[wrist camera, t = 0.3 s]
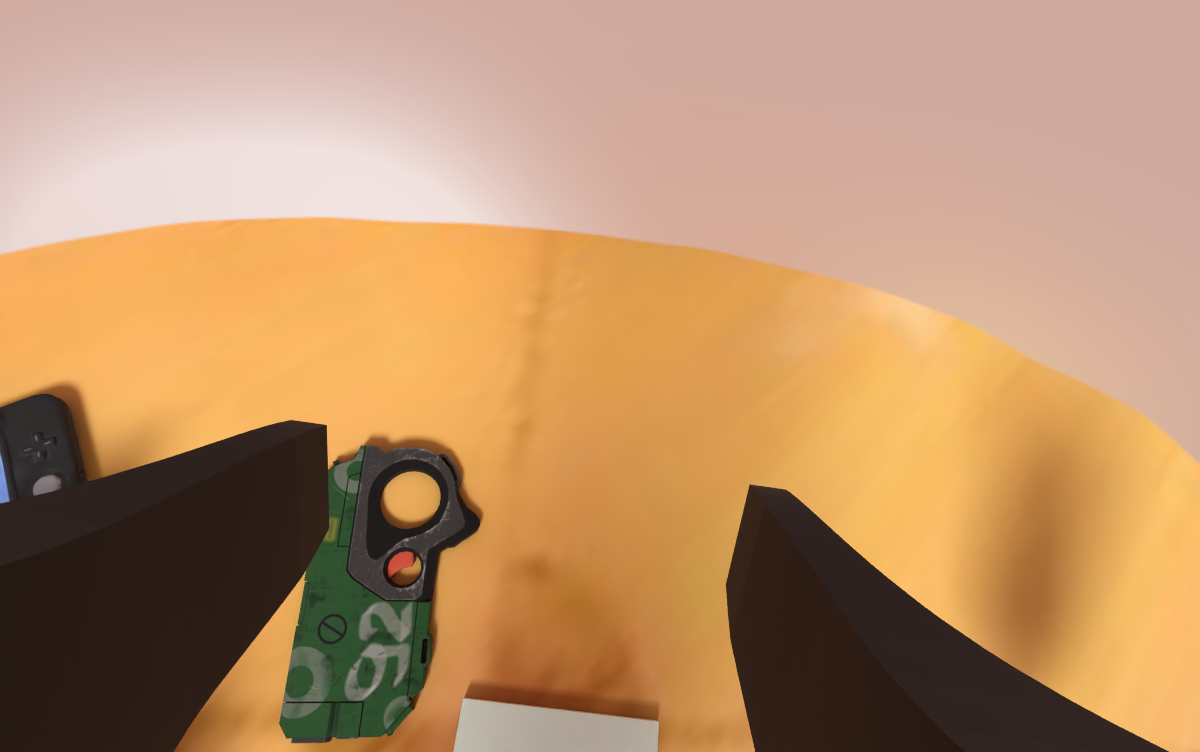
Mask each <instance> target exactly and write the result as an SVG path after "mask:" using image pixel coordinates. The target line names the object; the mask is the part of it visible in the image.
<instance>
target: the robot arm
mask: <svg viewBox="0 0 1200 752" xmlns="http://www.w3.org/2000/svg"><path fill="white" fill-rule="evenodd" d="M329 528H330V526H329V491H328V456H327V425H322V424H315V423H308V422H301V421H294V420H289V421H284V422H279V423H275V424H272V425H268V426H264V427H261V428H258V429H254V430H251V431H248V432H245V433H242V434H239V435H236V436H233V437H230V438H227V439H224V440H221V441H218V442H215V443H212V444H209V445H206V446H203V447H200V448H197V449H194V450H191V451H188V452H185V453H182V454H179V455H176V456H173V457H169V458H166V459H163V460H160V461H156V462H153V463H150V464H147V465H143V466H140V467H137V468H133V469H130V470H127V471H123V472H120V473H117V474H113V475H110V476H107V477H104V478H100V479H97V480H93V481H90V482H86V483H82V484H79V485H75V486H71V487H67V488H63V489H60V490H56V491H52V492H48V493H43V494H39V495H35V496H30V497H26V498H22V499H17V500H13V501H9V502H4V503H0V752H174V750H175V748H176V747H177V745H178V744H179V742H180V740H181V739H182V737H183V736H184V734H185V733H186V731H187V729H188V728H189V726H190V725H191V723H192V722H193V720H194V719H195V717H196V716H197V714H198V713H199V712H200V710H201V709H202V707H203V706H204V705H205V703H206V702H207V700H208V699H209V698H210V696H211V695H212V693H213V692H214V691H215V689H216V688H217V687H218V686H219V684H220V683H221V682H222V680H223V679H224V678H225V676H226V675H227V674H228V673H229V671H230V670H231V669H232V667H233V666H234V665H235V664H236V662H237V661H238V660H239V658H240V657H241V656H242V655H243V653H244V652H245V651H246V649H247V648H248V647H249V646H250V644H251V643H252V642H253V640H254V639H255V638H256V637H257V635H258V634H259V633H260V631H261V630H262V629H263V628H264V626H265V625H266V624H267V622H268V621H269V620H270V619H271V617H272V616H273V615H274V613H275V612H276V611H277V609H278V608H279V607H280V605H281V604H282V603H283V602H284V600H285V599H286V598H287V596H288V595H289V594H290V592H291V591H292V590H293V588H294V587H295V586H296V584H297V583H298V582H299V580H300V579H301V577H302V576H303V574H304V572H305V571H306V569H307V567H308V566H309V564H310V562H311V561H312V559H313V557H314V556H315V554H316V552H317V550H318V548H319V546H320V545H321V543H322V541H323V539H324V537H325V535H326V534H327V532H328V530H329ZM726 592H727V606H728V618H729V628H730V639H731V644H732V649H733V653H734V658H735V663H736V667H737V672H738V676H739V681H740V686H741V690H742V695H743V699H744V703H745V708H746V712H747V717H748V721H749V726H750V730H751V735H752V739H753V743H754V748H755V752H1168V751H1166V750H1164V749H1162V748H1161V747H1159V746H1157V745H1155V744H1153V743H1151V742H1149V741H1147V740H1145V739H1143V738H1141V737H1139V736H1137V735H1135V734H1133V733H1131V732H1129V731H1127V730H1125V729H1123V728H1121V727H1119V726H1117V725H1115V724H1113V723H1111V722H1109V721H1107V720H1106V719H1104V718H1102V717H1100V716H1098V715H1096V714H1095V713H1093V712H1091V711H1089V710H1087V709H1085V708H1083V707H1082V706H1080V705H1078V704H1076V703H1074V702H1072V701H1071V700H1069V699H1067V698H1065V697H1064V696H1062V695H1060V694H1058V693H1057V692H1055V691H1053V690H1052V689H1050V688H1048V687H1047V686H1045V685H1043V684H1041V683H1040V682H1038V681H1036V680H1035V679H1033V678H1031V677H1030V676H1028V675H1026V674H1024V673H1023V672H1021V671H1019V670H1018V669H1016V668H1014V667H1013V666H1011V665H1009V664H1008V663H1006V662H1005V661H1003V660H1002V659H1000V658H998V657H997V656H995V655H994V654H992V653H990V652H989V651H987V650H986V649H984V648H983V647H981V646H980V645H978V644H977V643H975V642H974V641H972V640H971V639H970V638H968V637H967V636H965V635H964V634H962V633H961V632H959V631H958V630H956V629H955V628H953V627H952V626H951V625H949V624H948V623H946V622H945V621H943V620H942V619H940V618H939V617H938V616H936V615H935V614H934V613H932V612H931V611H929V610H928V609H927V608H925V607H924V606H923V605H921V604H920V603H919V602H917V601H916V600H915V599H914V598H912V597H911V596H910V595H909V594H907V593H906V592H905V591H904V590H902V589H901V588H900V587H898V586H897V585H896V584H895V583H893V582H892V581H891V580H890V579H888V578H887V577H886V576H885V575H884V574H882V573H881V572H880V571H879V570H878V569H876V568H875V567H874V566H873V565H872V564H870V563H869V562H868V561H867V560H866V559H865V558H863V557H862V556H861V555H860V554H859V553H858V552H857V551H855V550H854V549H853V548H852V547H851V546H850V545H849V544H848V543H846V542H845V541H844V540H843V539H842V538H841V537H840V536H839V535H838V534H836V533H835V532H834V531H833V530H832V529H831V528H830V527H829V526H828V525H826V524H825V523H824V522H823V521H822V520H821V519H820V518H819V517H818V516H817V515H816V514H814V513H813V512H812V511H811V510H810V509H809V508H808V507H807V506H805V505H804V504H803V503H802V502H801V501H800V500H799V499H797V498H796V497H795V496H794V495H792V494H791V493H790V492H788V491H787V490H784V489H777V488H770V487H763V486H756V485H750V486H749V490H748V494H747V498H746V503H745V507H744V511H743V515H742V519H741V523H740V528H739V532H738V536H737V540H736V544H735V549H734V553H733V557H732V561H731V565H730V569H729V574H728V578H727V582H726Z"/></svg>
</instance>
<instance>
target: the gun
mask: <svg viewBox="0 0 1200 752" xmlns="http://www.w3.org/2000/svg"><path fill="white" fill-rule="evenodd" d="M443 460H446V461H447V462H448V463H449V465H450V466H451V467H452V469H453V470H454V473H455V475H456V478H457V481H456V482H455V480H454V477H453V475H452V473H451V470H450V469H449V468H448V466H447V465H446V464H445V463H444V461H443ZM333 464H334V467H332V468H331V469H329V470H328V491H329V526H330V528H329V530H328V532H327V534H326V535H325V537H324V539H323V541H322V543H321V545H320V546H319V548H318V550H317V552H316V554H315V556H314V557H313V559H312V561H311V562H310V564H309V566H308V567H307V569H306V574H305V581H308V582H305V585H304V591H303V597H302V602H301V608H300V614H299V620H298V625H299V626H296V631H295V637H294V642H293V648H292V654H291V660H290V665H289V671H288V677H287V683H286V688H285V694H284V700H283V701H286V702H285V703H283V705H282V711H281V717H280V723H279V724H280V726H281V728H282V730H283V732H284V734H285V737H286V738H292V740H291V743H325V742H329V741H331V739H332V737H336V739H356V738H358V737H359V736H360V737H381V736H382V735H384V734H385V733H386V734H387V735H388V736H390V735H392V734H393V733H392V732H393V731H394V730H395V729H396V728H397V727H398V726H399V725H400V723H401V722H402V721H403V720H404V719H405V718H406V717H407V715H408V714H409V713H410V712H411V711H412V710H414V709H415V708H414V707H413V706H412V705H411V703H412V702H413V700H412V699H411V698H414V697H415V696H416V695H417V694H418V693H419V692H420V691H421V690H422V689H423V688H424V683H425V677H426V668H427V667H428V666H429V665H430V663H431V655H432V641H433V637H432V635H429V630H430V620H431V609H432V603H431V601H432V597H433V591H434V582H435V575H436V569H437V563H438V556H439V553H440V552H441V551H443V550H445V549H447V548H451V547H455V546H457V545H458V544H459V543H461V542H462V541H464V540H465V539H467V538H468V537H470V536H471V535H473V534H474V533H475V532H477V530H478V528H479V526H480V520H479V518H478V517H477V515H476V514H475V513H473V512H472V511H471V510H470V509H468V508H467V507H466V505H465V503H464V502H463V500H462V498H461V497H460V494H459V491H458V488H459V486H460V484H461V478H460V476H459V473H458V471H457V469H456V466H455V465H454V463H453V462H452V461H451V459H450V458H449V457H448V456H447V455H446V454H440V455H437V454H435V453H433V452H431V451H429V450H426V449H419V448H409V447H408V448H397V449H394V450H391V451H389V452H382V451H381V449H380V448H379V447H378V446H367V447H366V446H362V445H361V447H360V449H359V451H358V453H357V454H356V455H355V459H353V460H350V461H347V462H345V463H341V462H340V461H339V460H337V461H334V462H333ZM410 471H417V472H422V473H425V474H427V475H429V476H431V477H432V478H433V479H434V480H435V481H436V482H437V484H438V486H439V488H440V493H441V500H440V505H439V507H438V510H437V512H436V513H435V515H434V516H433V517H432V518H431V519H430V520H429V521H428V522H426V523H425V524H423V525H422V526H420V527H416V528H412V529H400V528H397V527H394V526H392V525H391V524H389V523H388V522H387V521H386V520H385V518H384V517H383V515H382V512H381V507H380V499H381V495H382V492H383V490H384V488H385V487H386V485H387V484H388V483H389V482H390V481H391V480H392V479H393V478H395V477H396V476H398V475H400V474H402V473H405V472H410ZM414 554H415V555H416V556H418V558H419V560H420V561H421V571H420V575H419V576H418V577H417V579H416V580H415V581H414V582H412V583H410V584H408V585H403V586H402V585H397V584H396V583H394V582H393V581H392V579H391V578H392V577H393V575H394V574H395V573H397V572H398V571H400V570H402V569H403V568H406V567H411V566H413V564H414ZM425 639H428V647H427V660H426V663H423V651H424V640H425Z"/></svg>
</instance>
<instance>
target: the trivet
mask: <svg viewBox="0 0 1200 752" xmlns="http://www.w3.org/2000/svg"><path fill="white" fill-rule="evenodd" d="M658 733H659V721H657V720H650V719H641V718H633V717H624V716H616V715H608V714H599V713H591V712H582V711H574V710H566V709H557V708H549V707H540V706H532V705H523V704H515V703H507V702H498V701H490V700H481V699H473V698H465V697H464V698H463V701H462V706H461V712H460V718H459V723H458V729H457V734H456V740H455V745H454V751H453V752H657V748H658Z"/></svg>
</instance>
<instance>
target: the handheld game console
mask: <svg viewBox="0 0 1200 752" xmlns="http://www.w3.org/2000/svg"><path fill="white" fill-rule="evenodd" d="M86 482H87V479H86V475H85V471H84V466H83V462H82V458H81V454H80V450H79V446H78V442H77V438H76V434H75V430H74V425H73V421H72V417H71V413H70V410H69V408H68V406H67V405H66V403H65V402H64V401H63V400H61V399H59V398H57V397H55V396H53V395H49V394H40V395H34V396H31V397H28V398H26V399H23V400H20V401H17V402H15V403H12V404H9V405H7V406H4V407H1V408H0V503H4V502H9V501H13V500H17V499H22V498H26V497H30V496H35V495H39V494H43V493H48V492H52V491H56V490H60V489H63V488H67V487H71V486H75V485H79V484H82V483H86Z"/></svg>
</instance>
